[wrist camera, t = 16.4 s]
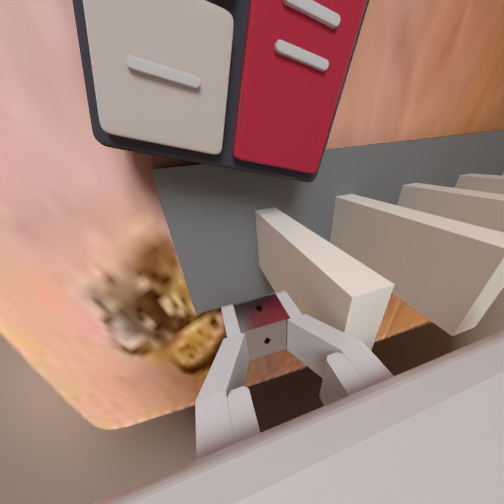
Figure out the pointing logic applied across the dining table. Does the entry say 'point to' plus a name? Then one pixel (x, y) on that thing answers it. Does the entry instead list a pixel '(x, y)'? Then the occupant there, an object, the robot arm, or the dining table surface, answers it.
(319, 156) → the calculator
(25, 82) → the dining table surface
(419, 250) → the domino
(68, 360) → the dining table surface
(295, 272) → the domino
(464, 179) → the domino
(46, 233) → the dining table surface
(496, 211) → the domino
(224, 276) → the domino mat
